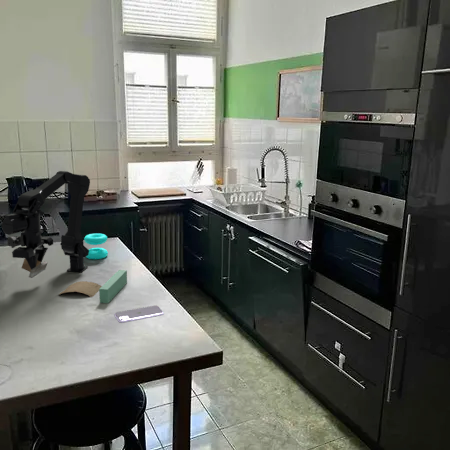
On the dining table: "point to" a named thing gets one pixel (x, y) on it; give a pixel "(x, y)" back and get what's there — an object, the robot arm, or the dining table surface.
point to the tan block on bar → (35, 270)
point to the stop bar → (113, 286)
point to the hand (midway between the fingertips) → (35, 269)
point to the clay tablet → (84, 288)
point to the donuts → (96, 240)
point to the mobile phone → (138, 313)
